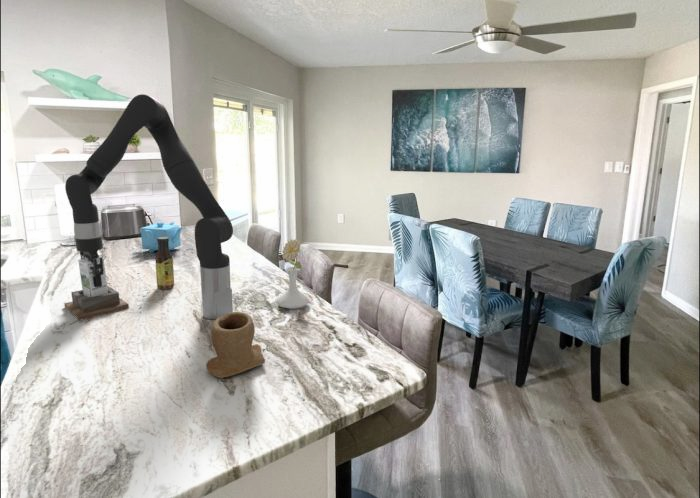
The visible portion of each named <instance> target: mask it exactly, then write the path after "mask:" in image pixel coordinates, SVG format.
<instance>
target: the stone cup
mask: <svg viewBox="0 0 700 498" xmlns="http://www.w3.org/2000/svg"><path fill="white" fill-rule="evenodd" d="M210 329H211V330H210V332H211V333H210V335H211V336H210V337H211V342H212V346H213V348H214V351H215V353H216V355H217V356H215V357H212V358H210V359H209V360H207V362H206V363H205V367H206V370H207V372H208V373H209V374H210V375H212V376H213V377H217V378H219V379H221V378H228V377H232V376H235V375H238V374H240V373H243V372H246V371H248V370H251V369H253V368H255V367H256V368H257V367H259V366H261V365H263V364H265V363H266V361H265V357H264V355H263V352H262V347H261V345H259V344H257V343H256V344H253V340H254V337H255V323H254V320H253V318H252V316H250V315H249V314H248V313H246V312H243V311H242V312H241V311H233V312H231V313H227V314H225V315H224V316H221V317H219V318H217V319H216V320H215V319H214V321H213V323H212V325H211V328H210Z"/></svg>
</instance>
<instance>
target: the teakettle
mask: <svg viewBox="0 0 700 498" xmlns="http://www.w3.org/2000/svg"><path fill="white" fill-rule="evenodd" d="M184 229H186V227H183V226H182V227H181V226H180V225H175V221H171V222H169V224H165V223H164V222H161V221H158V222H156V223H153V224H150V225H147V226H143V227H141V228H139V232H140V237H141V248H142V250H148V253H155V252H156V251H158V242H157V238H159V237H168V238H169V242H168V244H169V250H170V251H175V250H176V248H178V247H180V246H181V245H182V244H181V242H182V241H181V232H182V230H184Z"/></svg>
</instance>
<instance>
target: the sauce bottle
mask: <svg viewBox="0 0 700 498" xmlns="http://www.w3.org/2000/svg"><path fill="white" fill-rule="evenodd" d="M157 242H158V250H157V252H156V253H155V272H156V273H155V276H156V286H157V289H158V290H162V291H163V290H164V291H165V290H170V289H171V290H172V289H173V288H174V287H175V274H174V258H173V255H172V252H171V250H169V244H168V242H169V238H168V237H159V238H157Z"/></svg>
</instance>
